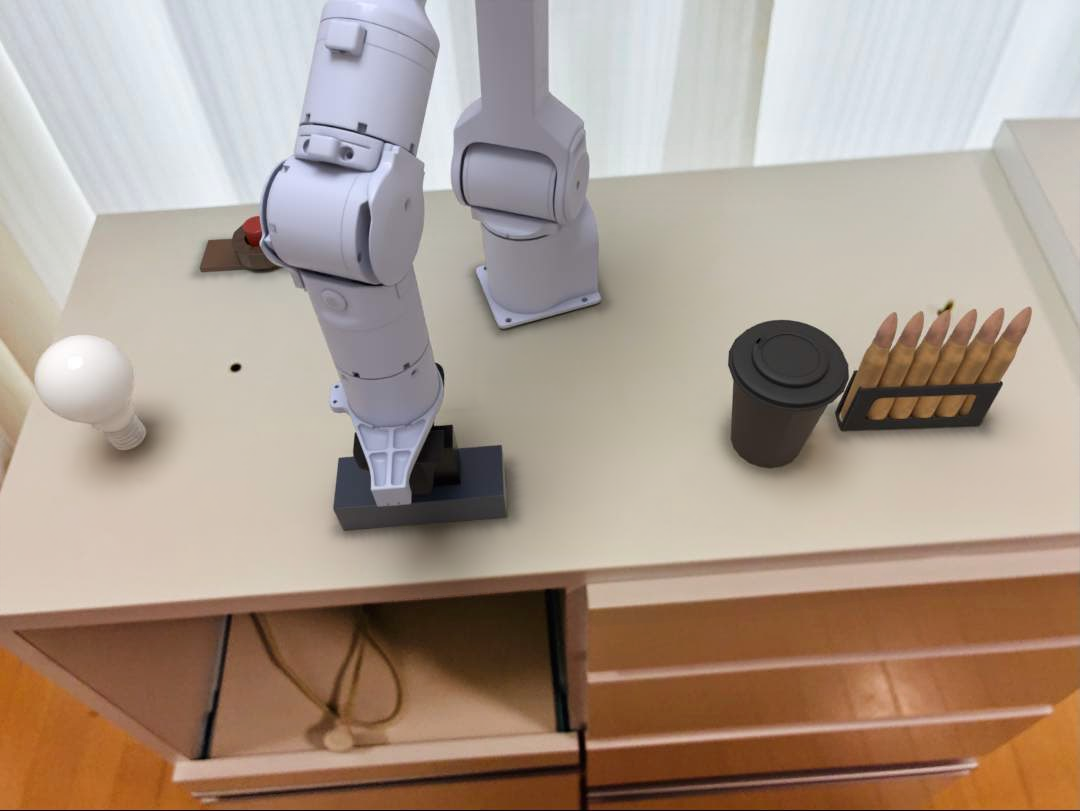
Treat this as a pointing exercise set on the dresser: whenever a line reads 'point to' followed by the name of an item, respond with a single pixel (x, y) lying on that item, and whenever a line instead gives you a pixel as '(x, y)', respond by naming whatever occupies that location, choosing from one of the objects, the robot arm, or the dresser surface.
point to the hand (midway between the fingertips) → (417, 470)
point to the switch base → (444, 504)
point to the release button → (253, 230)
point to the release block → (234, 255)
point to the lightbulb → (91, 387)
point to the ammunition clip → (930, 373)
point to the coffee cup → (781, 388)
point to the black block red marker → (448, 459)
